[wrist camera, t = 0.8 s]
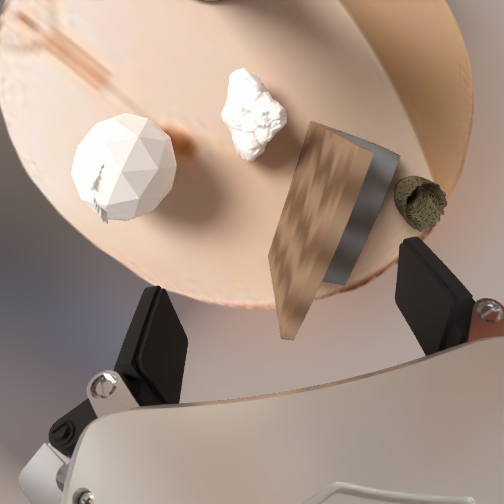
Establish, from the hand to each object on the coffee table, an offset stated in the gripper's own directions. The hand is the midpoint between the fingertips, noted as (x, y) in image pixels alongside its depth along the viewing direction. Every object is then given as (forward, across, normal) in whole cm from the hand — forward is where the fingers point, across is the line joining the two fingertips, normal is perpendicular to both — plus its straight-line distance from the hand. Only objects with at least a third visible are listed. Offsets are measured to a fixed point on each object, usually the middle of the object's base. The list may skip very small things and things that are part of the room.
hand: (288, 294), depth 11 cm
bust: (+33, 0, -5) cm, 33 cm away
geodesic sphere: (+33, +16, -3) cm, 37 cm away
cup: (+33, -22, +10) cm, 41 cm away
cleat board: (+33, -9, +10) cm, 36 cm away
